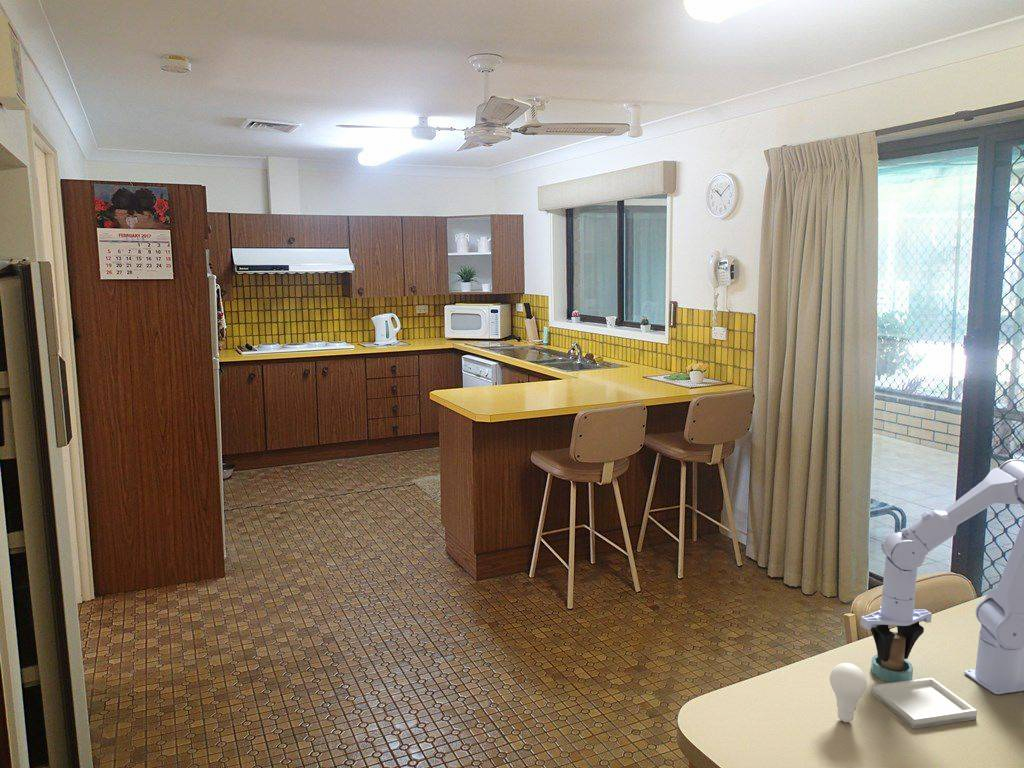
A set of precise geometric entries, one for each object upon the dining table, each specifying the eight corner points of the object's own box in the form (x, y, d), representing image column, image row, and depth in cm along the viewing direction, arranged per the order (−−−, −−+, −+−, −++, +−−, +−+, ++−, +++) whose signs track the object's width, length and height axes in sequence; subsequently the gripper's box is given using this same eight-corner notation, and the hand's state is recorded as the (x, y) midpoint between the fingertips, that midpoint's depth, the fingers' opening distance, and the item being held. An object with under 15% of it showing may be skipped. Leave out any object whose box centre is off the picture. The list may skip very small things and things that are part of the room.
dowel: (893, 667, 154) (896, 630, 153) (907, 677, 150) (910, 640, 149) (875, 669, 153) (879, 632, 152) (889, 680, 149) (892, 642, 148)
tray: (931, 685, 147) (931, 677, 147) (976, 719, 137) (977, 710, 137) (872, 694, 145) (873, 685, 144) (913, 728, 134) (914, 719, 134)
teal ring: (894, 661, 156) (895, 652, 156) (919, 681, 149) (920, 670, 149) (863, 666, 155) (864, 656, 154) (887, 685, 148) (888, 675, 147)
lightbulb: (867, 734, 133) (872, 676, 131) (830, 729, 134) (834, 672, 132) (858, 713, 139) (863, 658, 137) (823, 709, 140) (827, 654, 138)
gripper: (915, 582, 154) (910, 643, 157) (852, 588, 151) (847, 651, 154) (942, 597, 147) (935, 661, 150) (876, 604, 144) (870, 670, 147)
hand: (892, 657), depth 151 cm, fingers closed on dowel, 4 cm apart
